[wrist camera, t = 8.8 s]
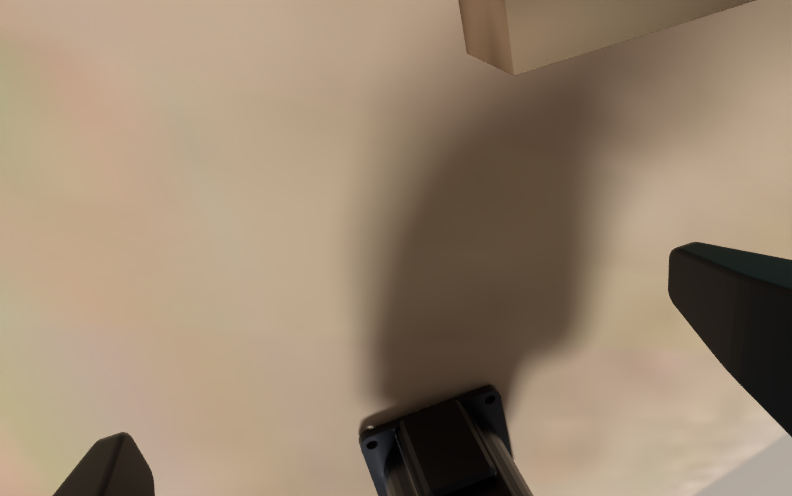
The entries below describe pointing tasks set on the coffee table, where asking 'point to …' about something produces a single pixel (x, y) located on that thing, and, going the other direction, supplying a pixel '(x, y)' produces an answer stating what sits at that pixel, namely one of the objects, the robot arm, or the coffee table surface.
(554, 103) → the coffee table surface
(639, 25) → the walnut block
